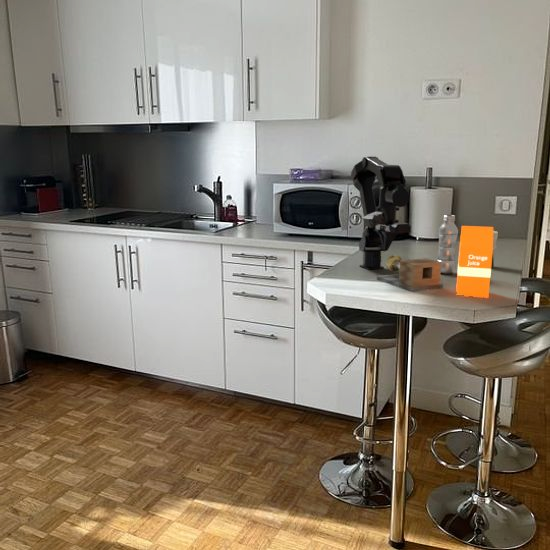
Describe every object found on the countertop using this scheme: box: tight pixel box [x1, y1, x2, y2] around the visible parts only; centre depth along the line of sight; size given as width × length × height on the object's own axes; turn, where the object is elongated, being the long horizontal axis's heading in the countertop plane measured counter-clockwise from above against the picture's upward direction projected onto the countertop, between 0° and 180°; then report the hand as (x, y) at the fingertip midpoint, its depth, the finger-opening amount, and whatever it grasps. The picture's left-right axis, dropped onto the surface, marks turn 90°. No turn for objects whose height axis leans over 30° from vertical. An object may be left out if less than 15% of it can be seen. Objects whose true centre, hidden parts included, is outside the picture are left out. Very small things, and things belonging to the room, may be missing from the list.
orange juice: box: [455, 225, 494, 299], centre depth 160 cm, size 8×9×20 cm
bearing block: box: [376, 257, 444, 292], centre depth 174 cm, size 18×12×8 cm, turn 25°
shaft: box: [386, 254, 403, 272], centre depth 176 cm, size 12×5×5 cm, turn 25°
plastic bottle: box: [436, 214, 459, 275], centre depth 187 cm, size 6×7×20 cm
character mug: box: [491, 230, 499, 268], centre depth 199 cm, size 11×7×13 cm, turn 3°
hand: (385, 250), depth 184 cm, fingers closed
